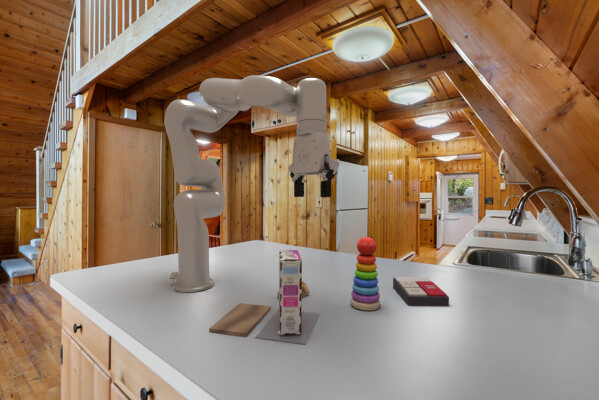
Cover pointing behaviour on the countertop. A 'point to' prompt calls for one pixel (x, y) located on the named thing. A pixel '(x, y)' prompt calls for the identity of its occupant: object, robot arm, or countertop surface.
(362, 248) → the stacking toy
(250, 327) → the walnut board
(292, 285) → the candy bar box
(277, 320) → the tile
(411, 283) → the dark flat boxy piece
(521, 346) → the countertop surface
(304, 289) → the pastry
